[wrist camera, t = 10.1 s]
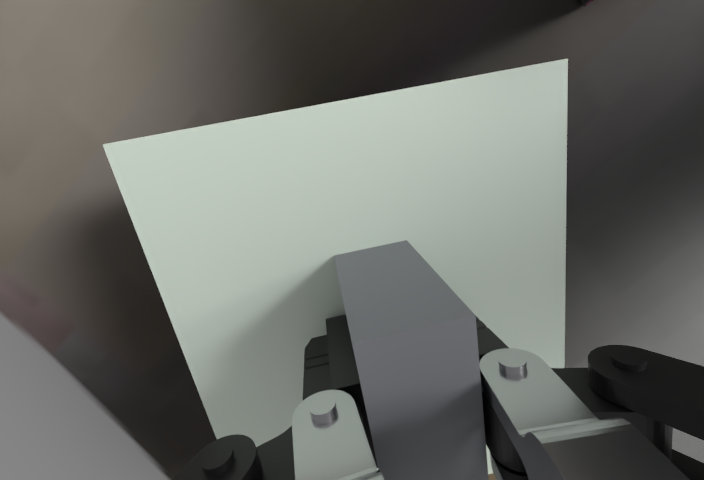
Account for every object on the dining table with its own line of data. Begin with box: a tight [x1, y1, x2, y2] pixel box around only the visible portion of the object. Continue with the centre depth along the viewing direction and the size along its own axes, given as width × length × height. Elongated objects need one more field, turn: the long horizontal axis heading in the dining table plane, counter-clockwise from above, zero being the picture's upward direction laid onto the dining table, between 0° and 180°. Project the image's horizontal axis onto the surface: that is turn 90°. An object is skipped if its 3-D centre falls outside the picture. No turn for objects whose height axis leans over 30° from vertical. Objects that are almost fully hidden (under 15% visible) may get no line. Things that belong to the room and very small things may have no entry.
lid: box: [103, 59, 568, 480], centre depth 10 cm, size 12×14×7 cm
